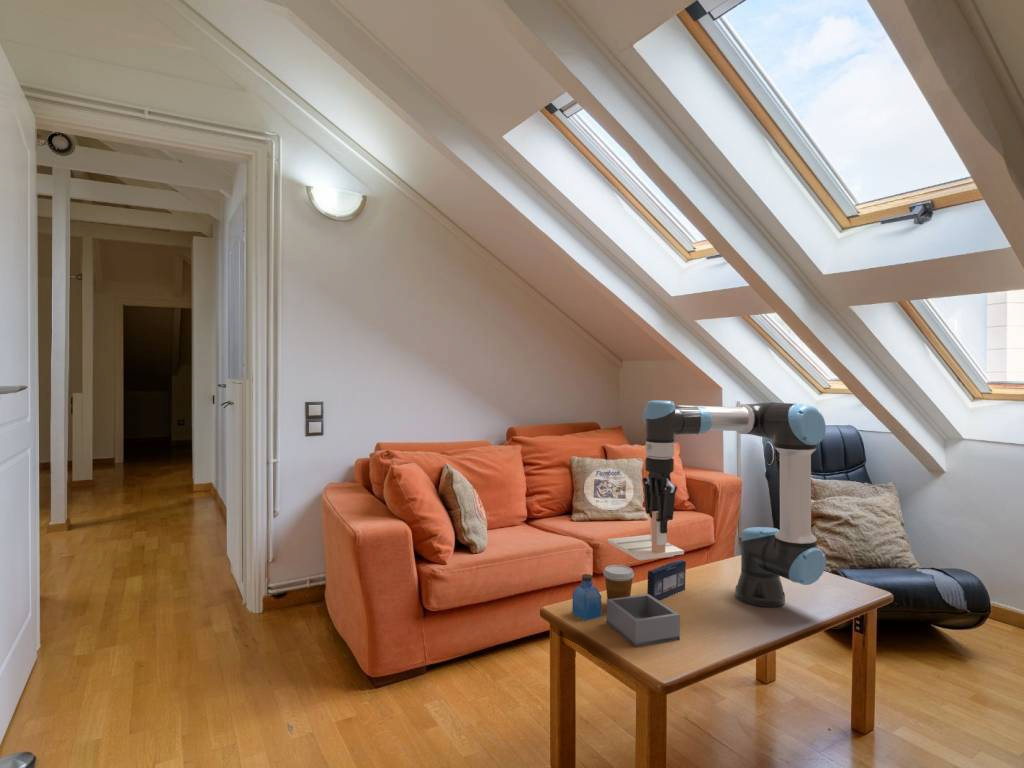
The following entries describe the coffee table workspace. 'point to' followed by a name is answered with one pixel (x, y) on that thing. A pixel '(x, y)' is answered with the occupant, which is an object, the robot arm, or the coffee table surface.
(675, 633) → the tub
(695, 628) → the coffee table surface
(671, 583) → the vhs cassette tape
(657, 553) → the lid
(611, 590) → the disposable coffee cup
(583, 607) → the perfume bottle
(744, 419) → the robot arm
